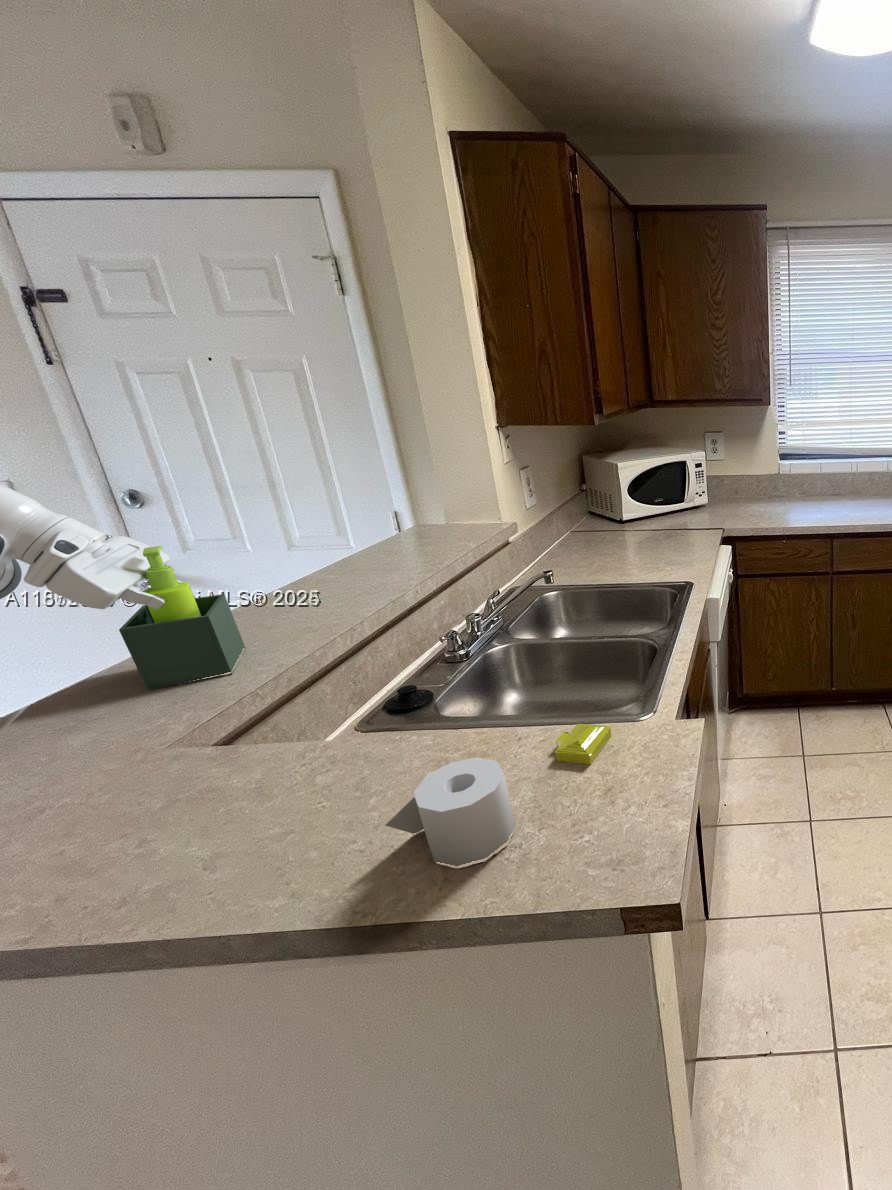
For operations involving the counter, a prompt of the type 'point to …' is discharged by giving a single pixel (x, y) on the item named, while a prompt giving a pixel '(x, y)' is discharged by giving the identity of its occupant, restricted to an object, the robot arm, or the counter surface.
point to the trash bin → (184, 644)
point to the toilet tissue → (460, 811)
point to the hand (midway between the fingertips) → (173, 597)
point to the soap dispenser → (168, 590)
